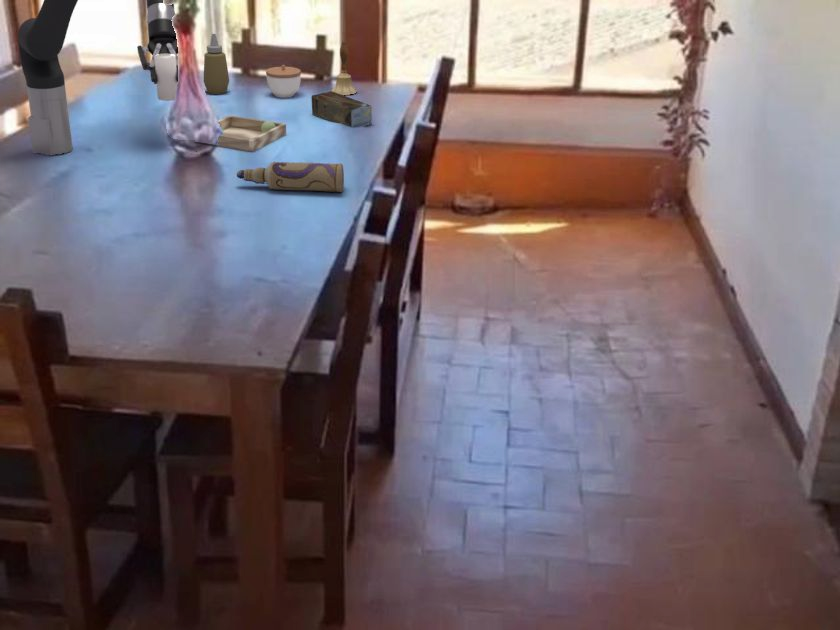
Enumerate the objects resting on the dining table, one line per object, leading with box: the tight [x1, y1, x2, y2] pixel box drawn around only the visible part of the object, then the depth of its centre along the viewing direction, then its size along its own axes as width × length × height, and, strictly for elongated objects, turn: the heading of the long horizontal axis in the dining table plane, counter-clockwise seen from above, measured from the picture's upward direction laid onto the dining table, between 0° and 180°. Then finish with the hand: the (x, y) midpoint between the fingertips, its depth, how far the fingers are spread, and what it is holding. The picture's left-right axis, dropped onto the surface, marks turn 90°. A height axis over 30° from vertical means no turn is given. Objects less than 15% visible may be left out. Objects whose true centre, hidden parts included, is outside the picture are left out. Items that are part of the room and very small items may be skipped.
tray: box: [217, 114, 287, 153], centre depth 289 cm, size 18×18×4 cm
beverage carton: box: [311, 90, 373, 128], centre depth 309 cm, size 8×19×7 cm, turn 42°
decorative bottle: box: [236, 161, 345, 193], centre depth 255 cm, size 26×8×7 cm, turn 86°
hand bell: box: [331, 41, 358, 96], centre depth 334 cm, size 8×8×16 cm
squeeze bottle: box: [203, 33, 230, 95], centre depth 330 cm, size 8×8×18 cm
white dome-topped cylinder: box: [154, 53, 178, 102], centre depth 277 cm, size 5×5×11 cm
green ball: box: [261, 120, 276, 133], centre depth 291 cm, size 4×4×4 cm
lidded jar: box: [265, 64, 302, 99], centre depth 331 cm, size 11×11×9 cm
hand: (167, 81), depth 275 cm, fingers closed on white dome-topped cylinder, 5 cm apart
